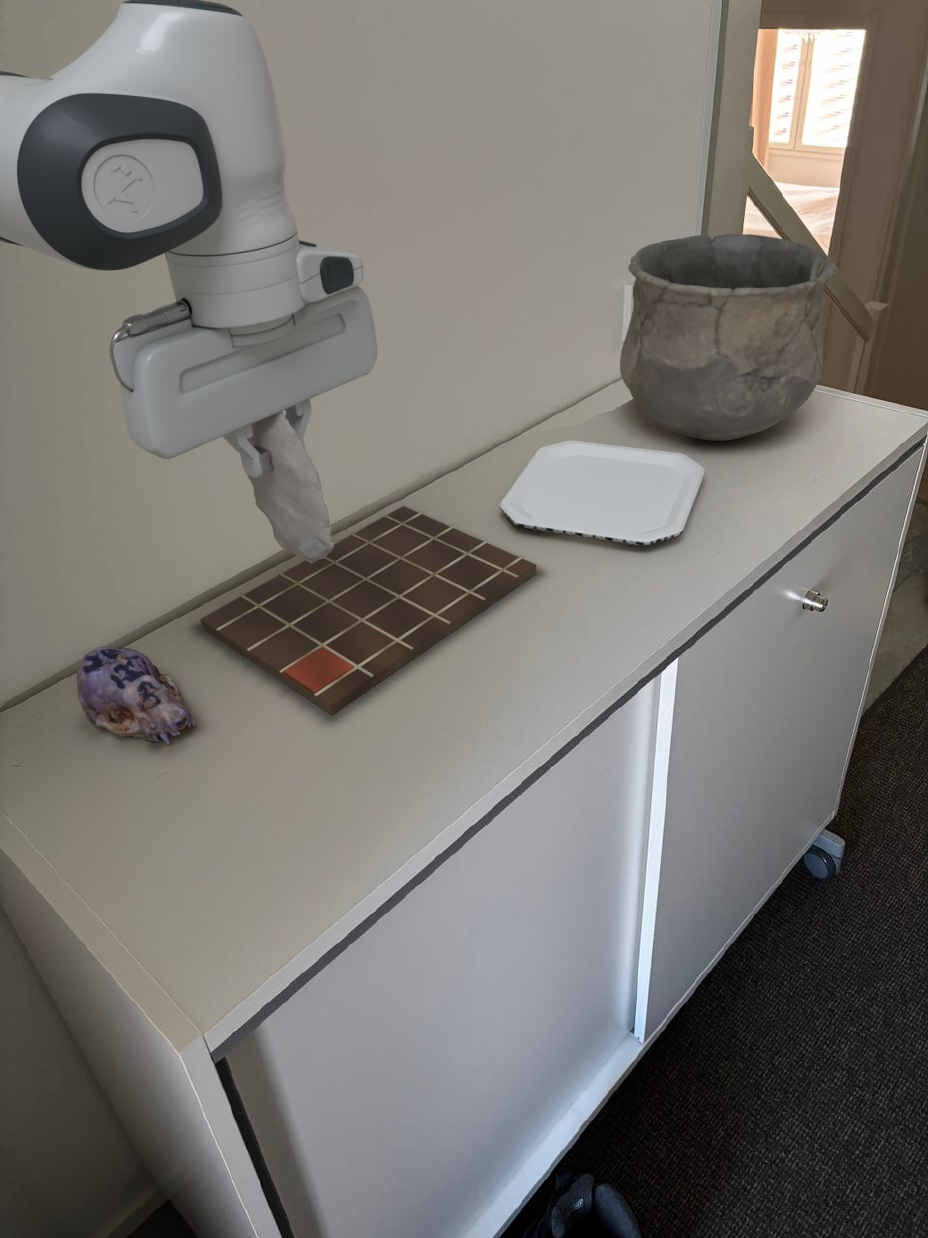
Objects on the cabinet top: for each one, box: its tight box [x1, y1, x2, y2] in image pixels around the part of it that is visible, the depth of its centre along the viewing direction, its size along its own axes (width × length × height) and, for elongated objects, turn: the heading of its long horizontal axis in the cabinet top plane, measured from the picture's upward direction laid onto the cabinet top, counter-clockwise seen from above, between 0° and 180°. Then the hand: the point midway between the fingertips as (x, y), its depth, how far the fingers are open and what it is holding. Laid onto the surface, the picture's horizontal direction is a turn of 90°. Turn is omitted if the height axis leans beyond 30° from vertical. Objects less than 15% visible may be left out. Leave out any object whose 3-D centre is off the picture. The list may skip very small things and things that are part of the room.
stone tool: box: [246, 410, 335, 564], centre depth 72 cm, size 9×3×15 cm, turn 56°
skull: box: [75, 646, 196, 745], centre depth 80 cm, size 12×8×6 cm, turn 45°
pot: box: [619, 233, 838, 442], centre depth 115 cm, size 25×24×21 cm
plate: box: [499, 440, 706, 546], centre depth 106 cm, size 21×21×2 cm
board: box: [200, 505, 537, 716], centre depth 93 cm, size 28×20×1 cm
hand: (276, 464), depth 71 cm, fingers closed on stone tool, 2 cm apart
